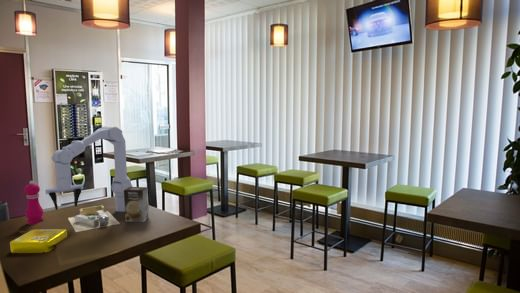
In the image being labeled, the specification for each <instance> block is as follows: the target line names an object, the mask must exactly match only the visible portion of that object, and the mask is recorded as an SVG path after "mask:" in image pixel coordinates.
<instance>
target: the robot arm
mask: <svg viewBox="0 0 520 293" xmlns="http://www.w3.org/2000/svg"><path fill="white" fill-rule="evenodd" d="M99 140H104V141H107V142H109V143H111V144H112V146H113V153H114V154H113V155H114V157H113V158H114V177H113V178H112V184H111V185H110V186H111V187H110V188H111V191H112V192H113V194H114V203H115V204H114V205H115V212H119V213H121V212H124V213H125V202H124V190H125V189H126V188H128V187H133V184H132V182H131V178H130V177H129V176H128V173H127V172H128V171H127V169H128V168H127V150H126V149H127V146H126V140H125V137H124V135H123V130H122V129H120V128H119V127H118V126H102V127H100V128H97V129H96V130H95V131H93V132H92V133H90V134H89V135H87V137H84V138H83V139H82V140H72V141H71V143H70V144H68V145H66V146H63V147H61V148H62V149H58V150H55V151H54V152H53V154H52V157H51V159H52V161H53V162H54V165H55V175H56V187H51V188H45V194H46V195H48V196H49V197H50V198H51V200H52V202H53V204H54V209H55V210H56V211H57V210H58V209H59V208H58V207H59V206H58V201H57V194H56V193H65V192H69V191H72V192H73V199H74V201H73V202H74V204H73V205H74V207H78V202H79V199H80V195H81V193H82V190H84V185H83V184H82V183H81V184H72V170H71V162H72V160H73V158H75V157H77V156H79V155H80V154H82V153H84V152H85V151H86V150H85V149H86V147H88V146H90V145H92V144H93V143H95V142H97V141H99Z"/></svg>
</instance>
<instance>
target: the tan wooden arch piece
mask: <svg viewBox="0 0 520 293" xmlns="http://www.w3.org/2000/svg"><path fill="white" fill-rule="evenodd" d="M100 210H103V212H104V213H105V212H106V211H105V206H104V205H103V204H102V205H96V206H88V207H84V208H79V215H84V216H85V215H91V214H97V211H100Z"/></svg>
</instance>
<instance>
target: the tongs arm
mask: <svg viewBox="0 0 520 293" xmlns="http://www.w3.org/2000/svg"><path fill="white" fill-rule="evenodd" d="M74 217H75V222H78V223H82V224H86V225H90V226H97V225H99V219H97V218H96V216H92V215H91V216H84V215H80V214H77V215H74Z"/></svg>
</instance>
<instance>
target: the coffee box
mask: <svg viewBox="0 0 520 293" xmlns="http://www.w3.org/2000/svg"><path fill="white" fill-rule="evenodd" d="M148 190H149V189H148V187H147V186H132V187H128V188H126V189H125V190H124V202H125V211H124V218H125V222H127V223H129V222H132V223H144V222H146V221H148V219H149V217H150V215H149V214H150V213H149V195H148V192H149V191H148Z"/></svg>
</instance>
